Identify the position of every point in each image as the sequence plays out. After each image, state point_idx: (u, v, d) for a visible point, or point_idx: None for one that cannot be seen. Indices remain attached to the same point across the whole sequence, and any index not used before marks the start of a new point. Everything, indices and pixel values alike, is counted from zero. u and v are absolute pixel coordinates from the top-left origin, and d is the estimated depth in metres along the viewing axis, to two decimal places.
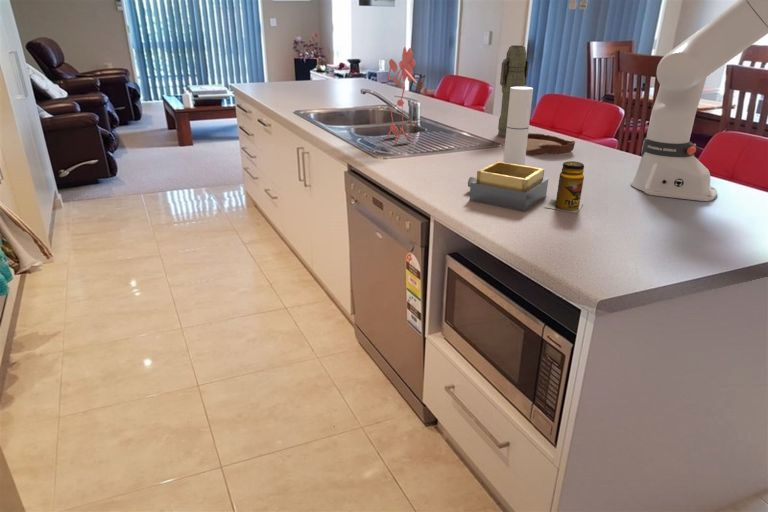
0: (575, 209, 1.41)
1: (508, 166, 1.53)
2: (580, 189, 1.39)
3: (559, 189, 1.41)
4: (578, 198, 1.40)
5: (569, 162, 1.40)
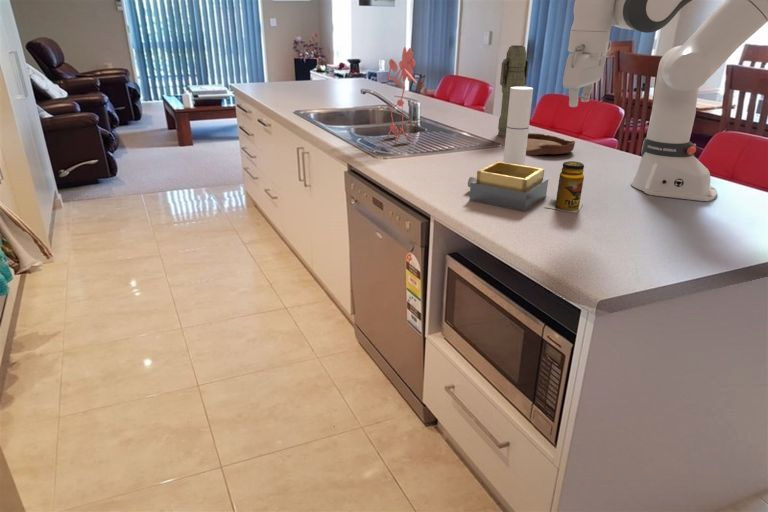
0: (575, 209, 1.41)
1: (508, 166, 1.53)
2: (580, 189, 1.39)
3: (559, 189, 1.41)
4: (578, 198, 1.40)
5: (569, 162, 1.40)
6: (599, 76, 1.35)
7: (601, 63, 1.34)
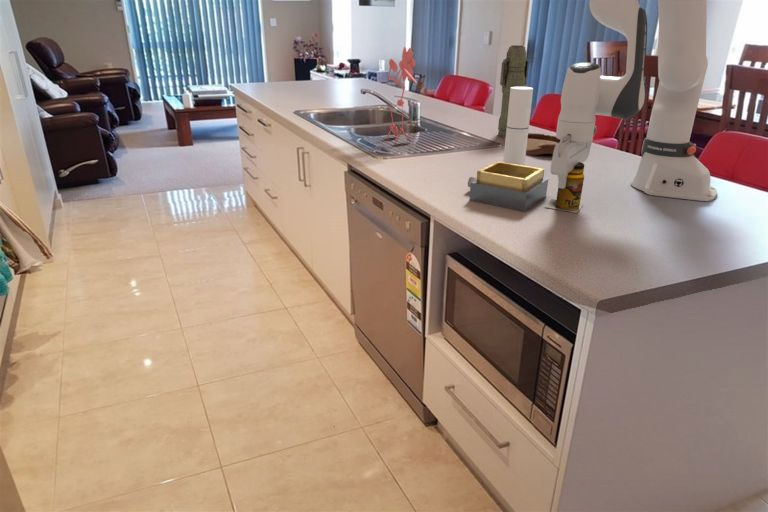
0: (575, 209, 1.41)
1: (508, 166, 1.53)
2: (580, 189, 1.39)
3: (560, 189, 1.41)
4: (578, 198, 1.40)
5: None
6: (586, 157, 1.44)
7: (587, 145, 1.43)
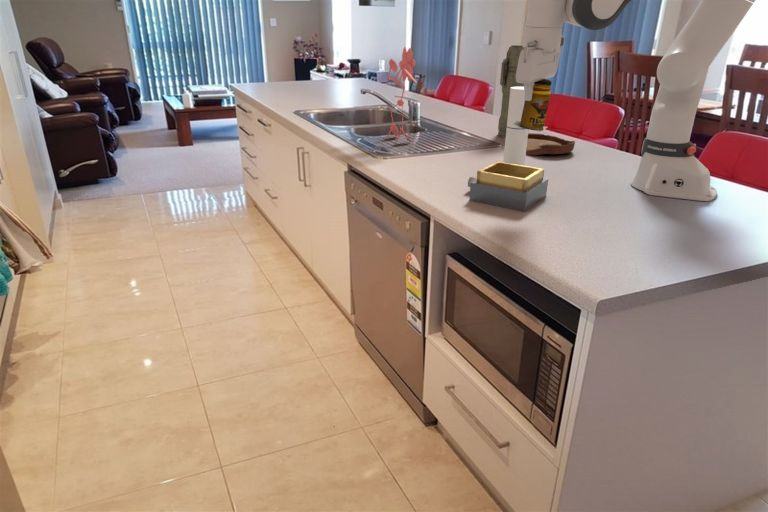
0: (539, 129, 1.37)
1: (508, 166, 1.53)
2: (546, 107, 1.35)
3: (525, 107, 1.36)
4: (543, 117, 1.36)
5: None
6: (554, 71, 1.39)
7: (555, 59, 1.38)
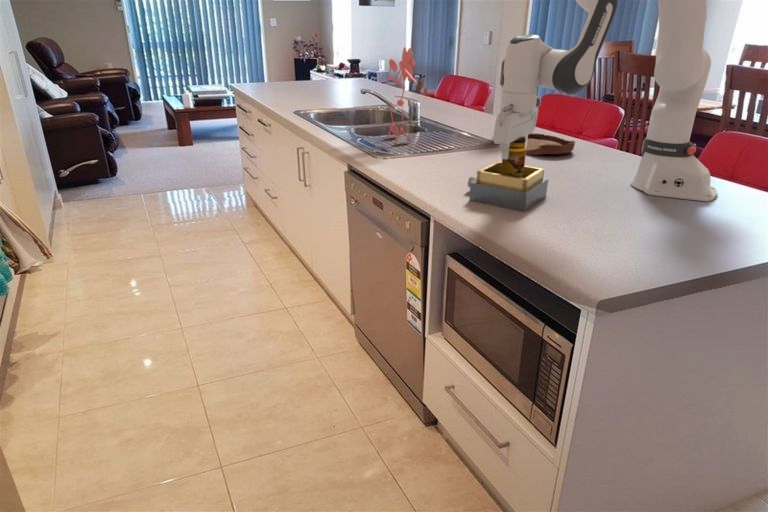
0: None
1: None
2: (522, 162, 1.44)
3: (503, 163, 1.45)
4: (521, 171, 1.45)
5: None
6: (532, 129, 1.48)
7: (533, 117, 1.46)
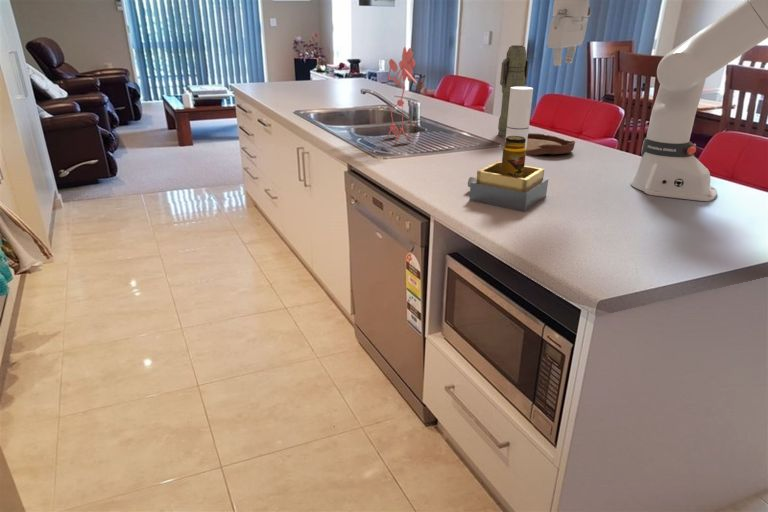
0: None
1: None
2: (522, 162, 1.44)
3: (503, 163, 1.45)
4: (521, 171, 1.45)
5: (512, 136, 1.44)
6: (581, 40, 1.51)
7: (583, 28, 1.50)
